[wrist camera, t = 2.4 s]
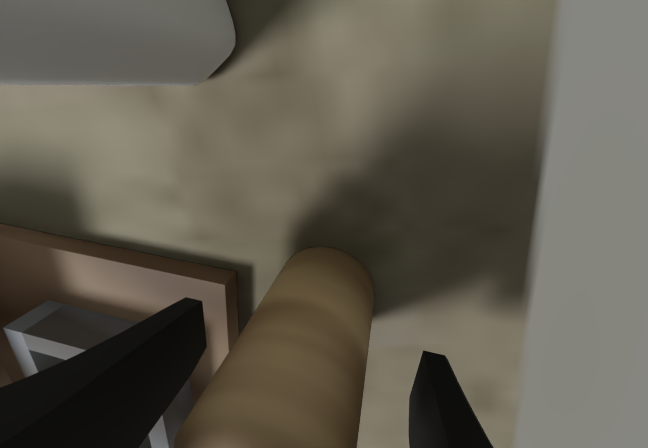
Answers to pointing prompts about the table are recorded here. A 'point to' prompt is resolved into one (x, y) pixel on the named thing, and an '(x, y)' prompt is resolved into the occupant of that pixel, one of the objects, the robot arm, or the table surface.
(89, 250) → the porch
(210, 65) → the eye dropper bottle
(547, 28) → the table surface
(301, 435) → the peg
